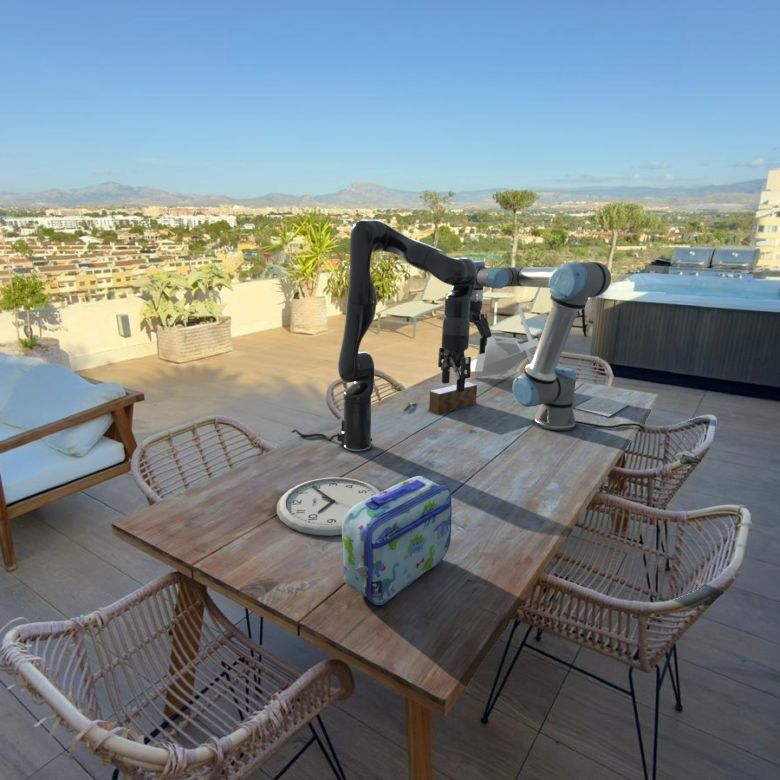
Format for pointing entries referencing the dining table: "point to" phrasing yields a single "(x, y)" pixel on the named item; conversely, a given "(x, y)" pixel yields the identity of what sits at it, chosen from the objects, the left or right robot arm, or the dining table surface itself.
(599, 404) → the grey rectangular panel
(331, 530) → the wall clock
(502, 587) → the dining table surface
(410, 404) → the fork
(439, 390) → the bar
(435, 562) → the lunch box
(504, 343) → the white plastic object
